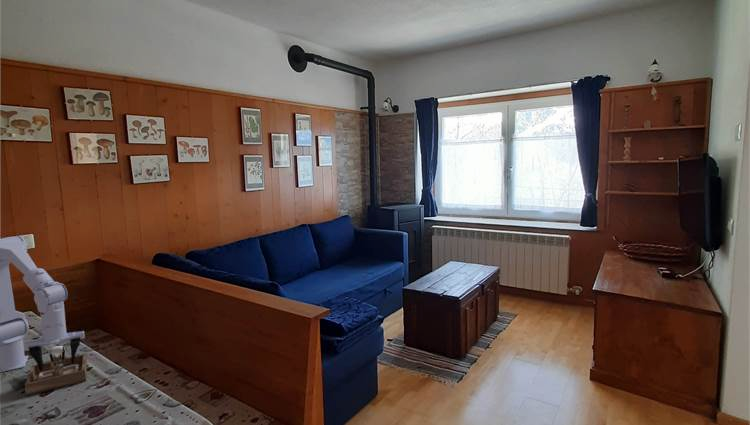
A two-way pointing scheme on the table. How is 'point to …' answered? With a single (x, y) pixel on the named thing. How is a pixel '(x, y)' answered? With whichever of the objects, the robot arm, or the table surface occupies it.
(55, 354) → the milkshake
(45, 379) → the socket box
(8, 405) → the table surface
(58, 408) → the table surface
